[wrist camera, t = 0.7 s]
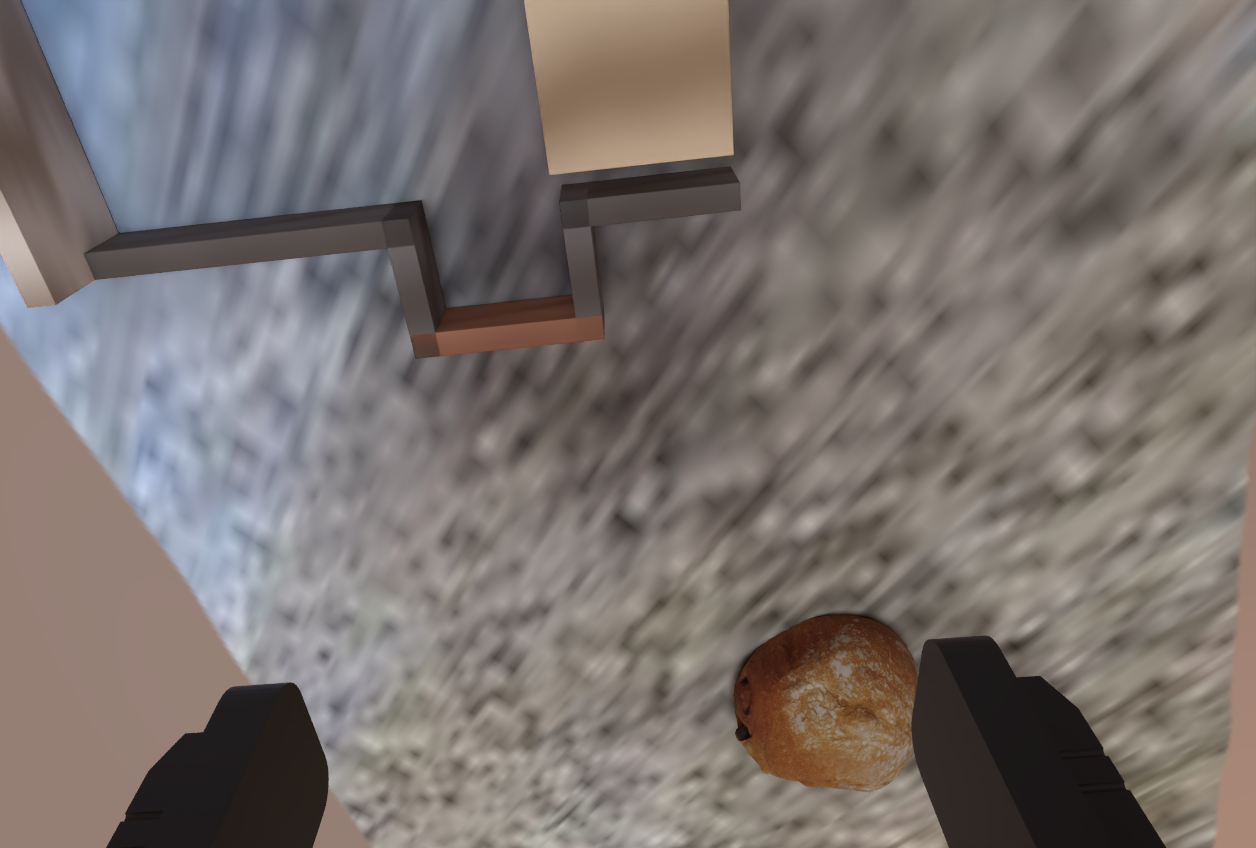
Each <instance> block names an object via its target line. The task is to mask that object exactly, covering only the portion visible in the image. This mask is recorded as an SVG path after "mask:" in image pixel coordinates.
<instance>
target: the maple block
mask: <svg viewBox="0 0 1256 848" xmlns="http://www.w3.org/2000/svg"><path fill="white" fill-rule="evenodd" d="M524 4H525V11H526V17H527V24H528V31H529V38H530V45H531V52H532V58H533V65H534V72H535V79H536V86H537V93H538V100H539V106H540V113H541V120H542V127H543V134H544V141H545V147H546V154H547V161H548V168H549V175H554V174H563V173H572V172H581V171H590V170H599V169H609V168H618V167H627V166H636V165H645V164H654V163H663V162H673V161H682V160H691V159H700V158H709V157H718V156H727V155H734V153H733V124H732V96H731V68H730V39H729V11H728V0H524Z"/></svg>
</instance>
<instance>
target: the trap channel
mask: <svg viewBox="0 0 1256 848" xmlns="http://www.w3.org/2000/svg"><path fill="white" fill-rule="evenodd" d="M559 204H560V211H561V218H562V225H563V232H564V239H565V246H566V253H567V260H568V267H569V274H570V281H571V288H572V295H570V296H561V297H551V298H542V299H532V300H523V301H513V302H504V303H494V304H485V305H475V306H466V307H456V308H447V309H446V307H445V303H444V298H443V294H442V289H441V285H440V281H439V276H438V272H437V267H436V263H435V259H434V254H433V250H432V245H431V241H430V236H429V232H428V228H427V223H426V219H425V214H424V210H423V206H422V201H421V200H420V201H411V202H402V203H393V204H384V205H375V206H365V207H356V208H347V209H338V210H329V211H319V212H310V213H301V214H292V215H283V216H273V217H264V218H255V219H246V220H237V221H228V222H218V223H209V224H200V225H191V226H182V227H172V228H163V229H154V230H145V231H136V232H126V233H118V231H117V229H116V227H115V224H114V222H113V220H112V217H111V215H110V212H109V210H108V208H107V205H106V203H105V200H104V198H103V196H102V193H101V191H100V189H99V186H98V184H97V181H96V179H95V177H94V174H93V172H92V170H91V167H90V165H89V162H88V160H87V158H86V155H85V153H84V150H83V148H82V146H81V143H80V141H79V139H78V136H77V134H76V131H75V129H74V127H73V124H72V122H71V120H70V117H69V115H68V112H67V110H66V108H65V105H64V103H63V100H62V98H61V96H60V93H59V91H58V89H57V86H56V84H55V81H54V79H53V77H52V74H51V72H50V70H49V67H48V65H47V62H46V60H45V58H44V55H43V53H42V50H41V48H40V46H39V43H38V41H37V39H36V36H35V34H34V31H33V29H32V27H31V24H30V22H29V20H28V17H27V15H26V12H25V10H24V8H23V5H22V3H21V1H20V0H0V254H1V256H2V258H3V260H4V262H5V264H6V266H7V268H8V270H9V272H10V274H11V276H12V278H13V280H14V282H15V284H16V286H17V288H18V290H19V292H20V294H21V296H22V298H23V300H24V302H25V304H26V306H27V308H31V307H40V306H49V305H56V304H58V303H59V302H61V301H63V300H64V299H66V298H67V297H69V296H70V295H72V294H73V293H75V292H77V291H78V290H80V289H81V288H83V287H84V286H86V285H87V284H89V283H91V282H92V281H94V280H97V279H106V278H116V277H125V276H134V275H144V274H153V273H162V272H171V271H181V270H190V269H199V268H209V267H218V266H227V265H237V264H246V263H255V262H265V261H274V260H283V259H293V258H302V257H311V256H320V255H330V254H339V253H348V252H358V251H367V250H376V249H386V248H388V252H389V256H390V260H391V264H392V268H393V272H394V276H395V279H396V283H397V287H398V291H399V295H400V299H401V303H402V307H403V311H404V315H405V319H406V323H407V327H408V331H409V334H410V338H411V342H412V346H413V350H414V354H415V358H416V359H417V358H427V357H436V356H446V355H456V354H465V353H475V352H485V351H494V350H504V349H514V348H523V347H533V346H542V345H552V344H562V343H571V342H581V341H591V340H600V339H604V308H603V300H602V292H601V284H600V275H599V267H598V259H597V251H596V243H595V235H594V227H593V226H600V225H609V224H618V223H628V222H637V221H646V220H656V219H665V218H674V217H684V216H693V215H702V214H711V213H721V212H730V211H739V210H741V200H740V182H739V180H738V179H737V177H736V175H735V174H734V172H733V170H732V169H731V167H724V168H714V169H705V170H696V171H687V172H678V173H669V174H659V175H650V176H641V177H632V178H623V179H613V180H604V181H595V182H586V183H577V184H567V185H562V189H561V195H560V201H559Z"/></svg>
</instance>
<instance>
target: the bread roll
mask: <svg viewBox="0 0 1256 848" xmlns="http://www.w3.org/2000/svg"><path fill="white" fill-rule="evenodd" d="M917 681H918V676H917V669H916V665H915V662H914V659H913V657H912V655H911V653H910V652H909V650H908V649H907V646H906V644H905V643H904V642H903V641H902V640H900V639H899V637H898V636H897V635H896V634H895V633H894V632H892V631H891V630H890V629H889V628H888V627H886V626H885V625H883V624H881V623H878V622H876V621H873V620H871V619H868V618H865V617H860V616H854V615H827V616H821V617H815V618H810V619H808V620H805V621H804V622H802V623H800V624H798V625H795V626H793V627H792V628H790V629H789V630H786V631H784V632H782V633H780V634H779V635H777V636H775V637H774V638H772V639H771V640H769V641H767V642H765V643H764V644H762V645H761V646H760V647H758V648H757V649H756V650H755V652H754V653H753V655H752V656H751V658H750V659H749V660H748V662H747V663H746V665H745V666H744V668H743V670H742V672H741V674H740V676H739V678H738V680H737V683H736V685H735V691H734V704H735V713H736V718H737V723H738V728H737V729H736V732H735V735H736V737H737V739H738V740H739V741H740V742H741V743H742V744H743V746H744V747H745V749H746V750H747V751H748V753H749V755H750V756H752V757H753V759H754V760H755V761H756V762H757V763H758V764H759V766H760V767H761V769H762V772H763V773H765V774H772V775H774V776H776V777H779V778H783V779H787V780H794V781H799V782H801V783H802V784H804V785H805V786H809V787H818V786H821V787H831V788H837V789H845V790H856V791H864V792H871V791H873V790H876V789H880V788H883V787H884V786H886V785H887V784H889V783H890V782H891V781H892V780H894V779H895V778H896V777H897V776H899V774H900V773H901V771H902V769H903V768H904V767H905V766H906V764H907V763H908V761H909V760H910V758H911V757H912V755H913V753H914V748H913V742H912V731H911V722H912V714H913V707H914V701H915V694H916V688H917Z"/></svg>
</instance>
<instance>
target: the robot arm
mask: <svg viewBox="0 0 1256 848" xmlns="http://www.w3.org/2000/svg"><path fill="white" fill-rule="evenodd" d="M911 731H912V742H913V748H914V753H915V758H916V762H917V765H918V768H919V771H920V774H921V777H922V779H923V782H924V784H925V787H926V790H927V792H928V795H929V797H930V800H931V802H932V805H933V808H934V810H935V813H936V815H937V818H938V820H939V823H940V826H941V828H942V831H943V833H944V836H945V838H946V841H947V844H948V846H949V848H1166V847H1165V845H1164V843H1163V842H1162V840H1161V839H1160V837H1159V836H1158V834H1157V832H1156V831H1155V829H1154V828H1153V826H1152V824H1151V823H1150V821H1149V820H1148V818H1147V816H1146V815H1145V813H1144V812H1143V810H1142V809H1141V807H1140V805H1139V804H1138V802H1137V801H1136V799H1135V797H1134V796H1133V794H1132V793H1131V791H1130V790H1126V788H1125V785H1124V780H1123V778H1122V777H1121V775H1120V774H1119V772H1118V771H1117V769H1116V767H1115V766H1114V764H1113V763H1112V761H1111V759H1110V758H1109V756H1105V755H1104V752H1103V747H1102V745H1101V744H1100V742H1099V740H1098V739H1097V737H1096V736H1095V734H1094V733H1093V731H1092V729H1091V728H1090V726H1089V725H1088V723H1087V721H1086V720H1085V718H1084V717H1083V715H1082V713H1081V712H1080V710H1079V709H1078V708H1077V707H1076V706H1075V705H1074V704H1072V703H1071V702H1070V701H1069V700H1068V699H1067V698H1065V697H1064V696H1063V695H1062V694H1061V693H1060V692H1058V691H1057V690H1056V689H1055V688H1054V687H1053V686H1051V685H1050V684H1049V683H1048V682H1047V681H1045V680H1044V679H1043V678H1042V677H1041V676H1032V677H1017V678H1016V676H1015V674H1014V672H1013V671H1012V669H1011V667H1010V665H1009V664H1008V662H1007V660H1006V658H1005V657H1004V655H1003V653H1002V651H1001V650H1000V648H999V646H998V645H997V643H996V642H995V641H994V640H993V639H992V638H991V637H989V636H972V637H958V638H943V639H929V640H927V641H926V642H925V643H924V646H923V650H922V655H921V662H920V668H919V675H918V681H917V688H916V694H915V701H914V707H913V714H912V722H911ZM328 781H329V778H328V766H327V760H326V757H325V754H324V752H323V749H322V747H321V744H320V741H319V739H318V736H317V733H316V731H315V728H314V726H313V723H312V720H311V718H310V715H309V713H308V710H307V707H306V705H305V702H304V700H303V697H302V694H301V692H300V690H299V688H298V687H297V685H295V684H294V683H277V684H262V685H248V686H235V687H231V688H229V689H228V690H227V691H226V692H225V693H224V694H223V695H222V697H221V699H220V701H219V702H218V704H217V706H216V708H215V710H214V713H213V714H212V716H211V718H210V720H209V722H208V724H207V726H206V728H205V730H204V732H201V733H188V734H184V735H183V736H182V737H181V738H180V739H179V740H178V741H177V742H176V743H175V744H174V745H173V746H172V747H171V749H170V750H169V751H168V752H167V753H166V754H165V755H164V756H163V757H162V758H161V759H160V760H159V761H158V762H157V763H156V764H155V765H154V766H153V767H152V768H151V769H150V770H149V771H148V773H147V775H146V777H145V778H144V780H143V782H142V784H141V786H140V788H139V789H138V791H137V793H136V795H135V797H134V798H133V800H132V802H131V804H130V805H129V807H128V809H127V811H126V813H125V814H126V819H125V821H124V822H120V824H119V825H118V827H117V829H116V831H115V833H114V834H113V836H112V838H111V840H110V842H109V844H108V846H107V847H106V848H313V844H314V841H315V838H316V835H317V832H318V829H319V826H320V823H321V819H322V816H323V813H324V810H325V806H326V801H327V794H328Z"/></svg>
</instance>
